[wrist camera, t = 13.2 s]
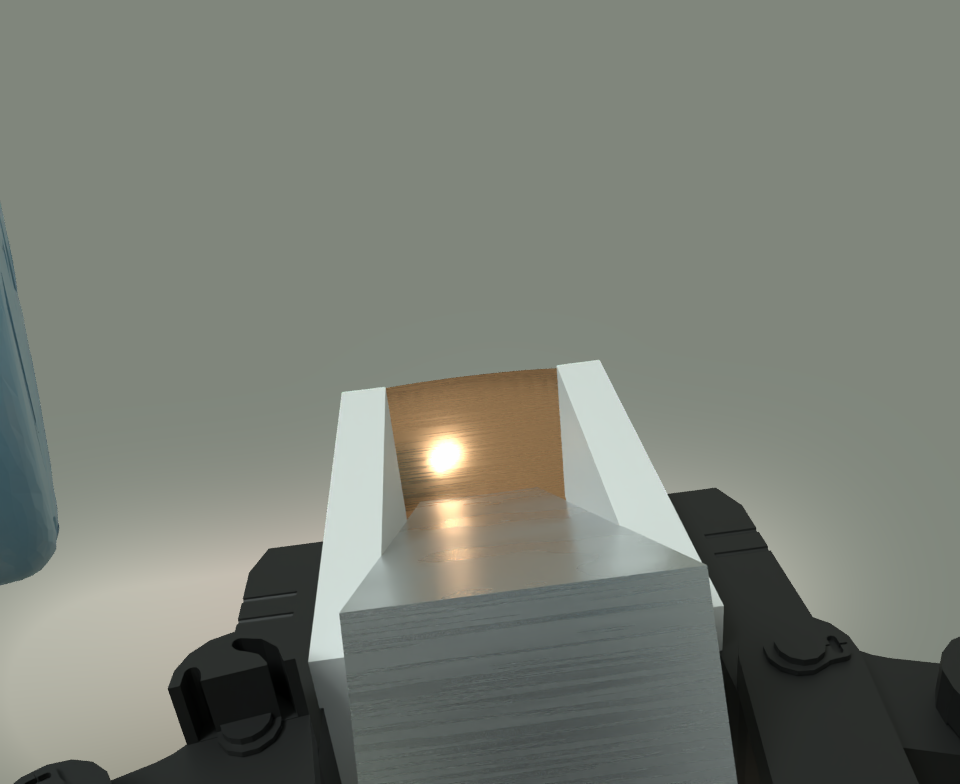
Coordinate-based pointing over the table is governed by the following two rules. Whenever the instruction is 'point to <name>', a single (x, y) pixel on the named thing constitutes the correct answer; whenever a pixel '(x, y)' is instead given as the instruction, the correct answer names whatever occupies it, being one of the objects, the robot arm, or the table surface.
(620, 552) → the knob shaft
